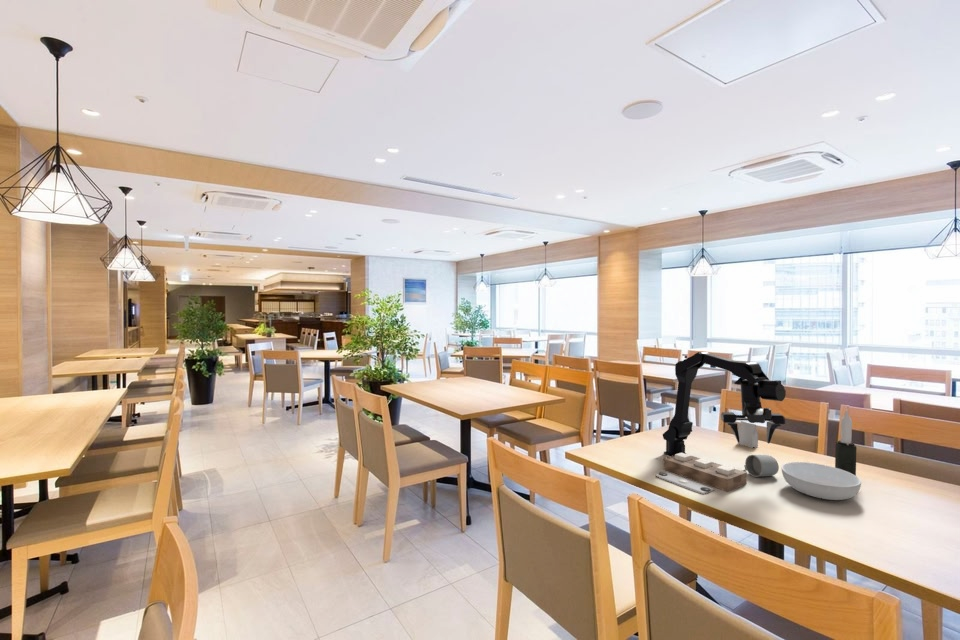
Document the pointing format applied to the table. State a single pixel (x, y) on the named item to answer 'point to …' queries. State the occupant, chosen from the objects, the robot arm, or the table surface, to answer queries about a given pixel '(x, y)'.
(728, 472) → the button
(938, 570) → the table surface
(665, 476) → the pattern card
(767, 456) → the ceramic mug
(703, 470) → the button board
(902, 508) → the table surface
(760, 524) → the table surface
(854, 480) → the serving bowl
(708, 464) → the middle button
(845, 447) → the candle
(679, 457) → the button
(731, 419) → the robot arm
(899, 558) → the table surface
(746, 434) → the grey angular block
